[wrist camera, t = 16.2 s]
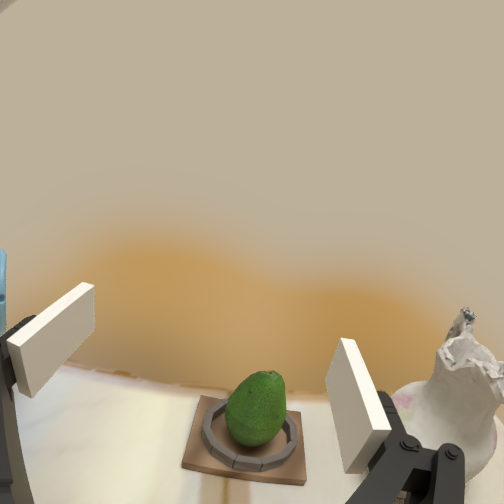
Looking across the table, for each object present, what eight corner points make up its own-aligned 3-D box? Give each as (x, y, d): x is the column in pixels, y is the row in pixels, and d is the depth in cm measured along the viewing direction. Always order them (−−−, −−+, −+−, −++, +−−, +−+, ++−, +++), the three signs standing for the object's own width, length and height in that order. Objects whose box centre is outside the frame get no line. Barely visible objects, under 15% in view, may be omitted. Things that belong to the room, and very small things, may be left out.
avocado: (285, 434, 41) (308, 373, 38) (256, 466, 35) (279, 405, 32) (240, 410, 45) (255, 347, 42) (208, 436, 39) (219, 372, 35)
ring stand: (181, 467, 34) (183, 453, 33) (200, 401, 47) (202, 385, 46) (303, 485, 34) (311, 471, 33) (297, 418, 47) (304, 403, 46)
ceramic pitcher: (345, 423, 48) (389, 293, 42) (436, 418, 48) (488, 302, 41) (368, 526, 28) (465, 390, 21) (478, 500, 27) (570, 371, 20)
